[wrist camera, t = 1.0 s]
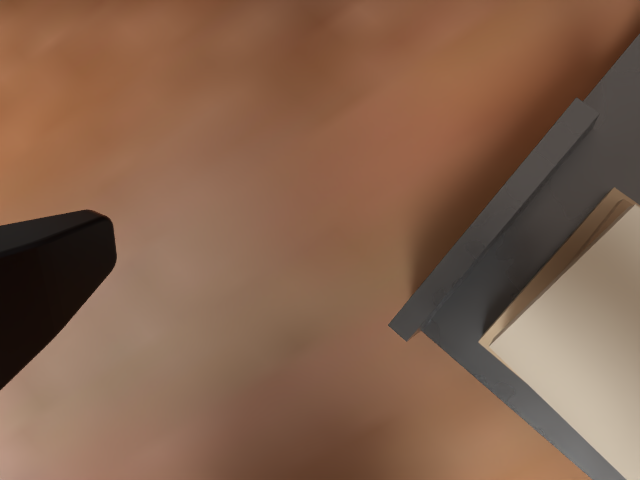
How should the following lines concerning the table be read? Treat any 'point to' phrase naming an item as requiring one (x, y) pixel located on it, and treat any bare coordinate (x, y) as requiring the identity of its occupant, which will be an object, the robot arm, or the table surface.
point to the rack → (534, 245)
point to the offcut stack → (584, 332)
